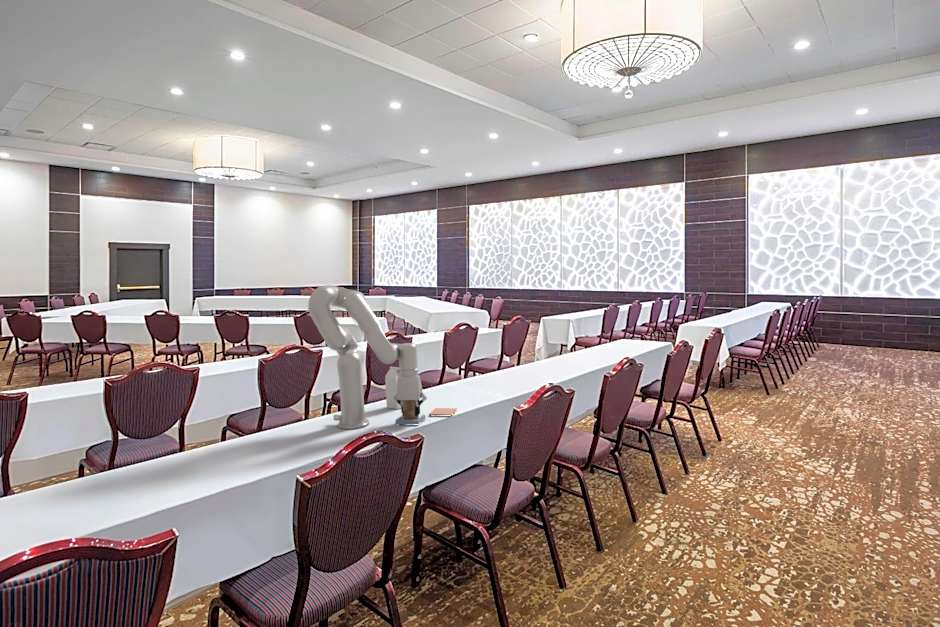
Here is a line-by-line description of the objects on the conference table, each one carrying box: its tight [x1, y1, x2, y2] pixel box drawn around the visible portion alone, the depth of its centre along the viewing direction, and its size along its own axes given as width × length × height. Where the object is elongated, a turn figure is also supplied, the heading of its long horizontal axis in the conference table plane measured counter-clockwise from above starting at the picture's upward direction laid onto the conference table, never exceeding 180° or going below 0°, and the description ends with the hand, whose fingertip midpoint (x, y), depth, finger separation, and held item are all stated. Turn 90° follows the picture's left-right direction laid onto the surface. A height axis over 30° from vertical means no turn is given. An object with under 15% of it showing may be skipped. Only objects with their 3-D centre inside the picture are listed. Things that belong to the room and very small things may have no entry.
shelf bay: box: [395, 414, 426, 425], centre depth 227 cm, size 10×9×2 cm
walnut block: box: [402, 400, 420, 420], centre depth 227 cm, size 5×5×10 cm
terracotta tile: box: [428, 407, 458, 416], centre depth 239 cm, size 10×10×1 cm
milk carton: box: [384, 366, 401, 410], centre depth 252 cm, size 7×7×19 cm
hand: (410, 414), depth 227 cm, fingers closed on walnut block, 5 cm apart
